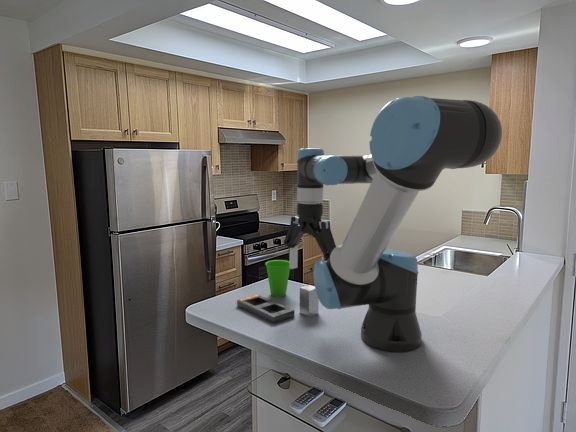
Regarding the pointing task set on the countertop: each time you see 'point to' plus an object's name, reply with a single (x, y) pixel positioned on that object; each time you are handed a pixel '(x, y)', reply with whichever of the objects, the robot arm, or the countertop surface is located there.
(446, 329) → the countertop surface
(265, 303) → the dark grey flat frame
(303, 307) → the gray squarish block
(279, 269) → the cup
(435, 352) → the countertop surface
